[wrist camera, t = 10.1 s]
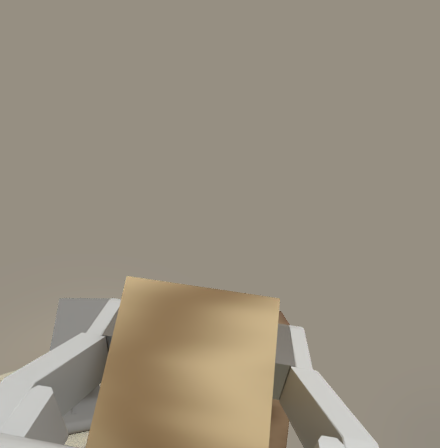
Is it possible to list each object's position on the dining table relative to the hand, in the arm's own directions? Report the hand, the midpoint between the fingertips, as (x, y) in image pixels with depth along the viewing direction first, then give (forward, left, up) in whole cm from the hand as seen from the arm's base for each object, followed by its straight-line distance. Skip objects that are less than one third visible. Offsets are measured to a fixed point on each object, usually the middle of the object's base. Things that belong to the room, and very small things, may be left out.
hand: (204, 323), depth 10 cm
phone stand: (-27, +41, -32) cm, 58 cm away
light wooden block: (0, +6, -4) cm, 7 cm away
